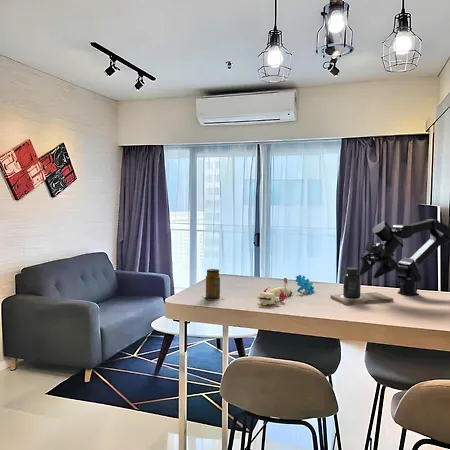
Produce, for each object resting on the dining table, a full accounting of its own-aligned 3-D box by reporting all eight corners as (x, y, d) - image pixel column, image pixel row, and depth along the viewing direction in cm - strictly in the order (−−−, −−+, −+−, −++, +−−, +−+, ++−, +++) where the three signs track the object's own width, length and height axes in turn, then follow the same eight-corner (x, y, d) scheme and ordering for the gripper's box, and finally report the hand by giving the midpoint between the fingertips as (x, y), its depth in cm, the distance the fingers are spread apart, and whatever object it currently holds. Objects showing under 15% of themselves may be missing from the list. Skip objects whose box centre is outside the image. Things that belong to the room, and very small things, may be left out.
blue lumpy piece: (305, 292, 189) (293, 273, 195) (296, 300, 192) (285, 281, 198) (320, 291, 197) (309, 274, 202) (311, 299, 200) (300, 281, 205)
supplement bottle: (363, 297, 181) (364, 268, 180) (355, 300, 176) (356, 270, 175) (348, 294, 186) (348, 266, 185) (340, 297, 181) (340, 268, 180)
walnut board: (376, 294, 191) (376, 291, 191) (393, 301, 180) (393, 298, 179) (330, 298, 185) (330, 294, 185) (345, 304, 174) (345, 301, 174)
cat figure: (275, 296, 195) (251, 303, 173) (276, 276, 195) (252, 281, 173) (296, 298, 191) (275, 306, 169) (297, 278, 191) (275, 284, 169)
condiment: (218, 295, 191) (218, 268, 190) (224, 299, 183) (224, 271, 182) (202, 296, 188) (201, 269, 187) (208, 301, 180) (208, 272, 179)
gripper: (362, 234, 194) (342, 261, 191) (391, 237, 176) (369, 266, 173) (377, 251, 197) (357, 278, 193) (407, 255, 179) (386, 284, 176)
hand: (366, 276), depth 184 cm, fingers open, 9 cm apart
